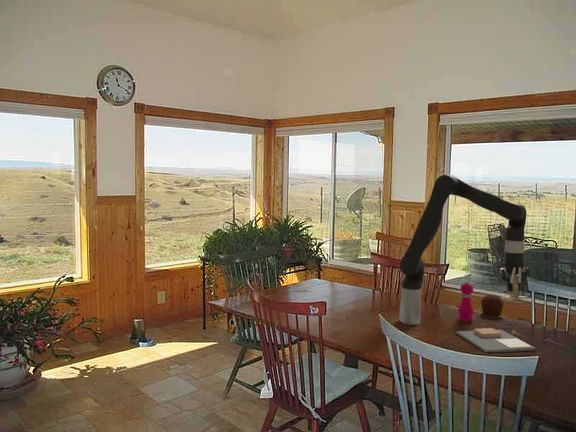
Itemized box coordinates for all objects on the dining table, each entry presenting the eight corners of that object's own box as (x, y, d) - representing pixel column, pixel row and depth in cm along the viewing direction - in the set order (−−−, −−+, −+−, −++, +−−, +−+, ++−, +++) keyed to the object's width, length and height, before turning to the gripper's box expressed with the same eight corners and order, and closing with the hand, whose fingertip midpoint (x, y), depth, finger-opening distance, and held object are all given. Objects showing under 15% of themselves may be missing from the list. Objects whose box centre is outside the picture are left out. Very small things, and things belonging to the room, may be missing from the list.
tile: (501, 336, 209) (482, 337, 208) (492, 331, 216) (473, 332, 215) (501, 333, 209) (482, 333, 208) (492, 328, 216) (473, 328, 215)
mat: (486, 352, 193) (486, 350, 192) (456, 333, 216) (456, 331, 216) (535, 350, 196) (535, 347, 196) (501, 331, 219) (501, 329, 219)
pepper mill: (459, 317, 242) (460, 278, 241) (474, 319, 238) (476, 280, 237) (456, 320, 236) (458, 281, 234) (471, 323, 232) (473, 282, 231)
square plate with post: (511, 300, 197) (509, 273, 198) (500, 298, 204) (499, 273, 205) (528, 299, 199) (526, 272, 200) (517, 298, 205) (515, 272, 206)
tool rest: (509, 348, 195) (509, 347, 195) (495, 340, 205) (495, 339, 205) (531, 347, 197) (531, 346, 197) (516, 339, 206) (516, 338, 206)
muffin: (484, 309, 256) (484, 291, 255) (506, 313, 249) (506, 295, 248) (477, 314, 247) (477, 295, 246) (499, 318, 240) (500, 299, 239)
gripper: (505, 252, 196) (504, 294, 197) (535, 251, 198) (534, 292, 199) (494, 250, 203) (493, 290, 205) (523, 249, 206) (522, 288, 207)
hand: (513, 291), depth 202 cm, fingers closed on square plate with post, 2 cm apart
